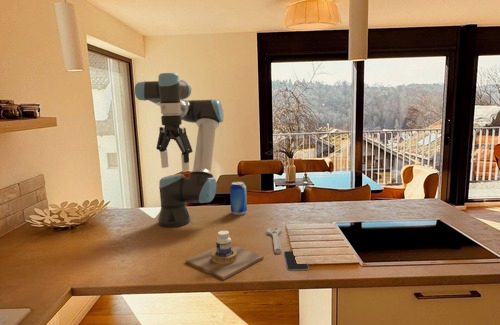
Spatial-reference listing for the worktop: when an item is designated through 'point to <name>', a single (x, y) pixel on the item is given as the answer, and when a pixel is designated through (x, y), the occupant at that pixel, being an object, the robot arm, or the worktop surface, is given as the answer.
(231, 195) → the beer can
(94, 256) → the worktop surface
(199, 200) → the robot arm
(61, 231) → the worktop surface
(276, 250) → the adjustable wrench
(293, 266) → the smartphone
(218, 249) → the pill bottle
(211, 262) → the socket plate
